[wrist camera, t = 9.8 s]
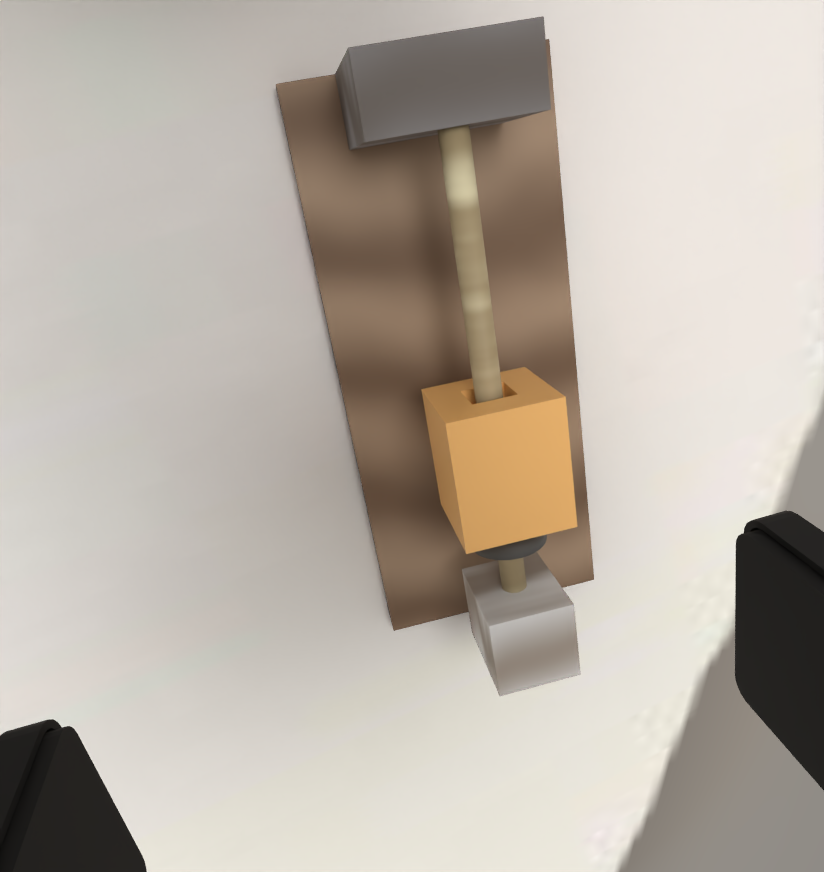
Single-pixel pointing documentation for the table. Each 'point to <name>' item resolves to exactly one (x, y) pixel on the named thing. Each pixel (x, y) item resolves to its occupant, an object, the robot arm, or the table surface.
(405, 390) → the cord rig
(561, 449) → the sleeve
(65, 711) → the table surface
